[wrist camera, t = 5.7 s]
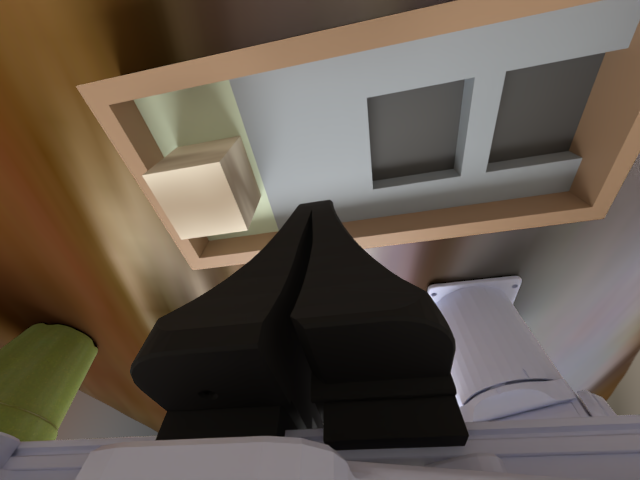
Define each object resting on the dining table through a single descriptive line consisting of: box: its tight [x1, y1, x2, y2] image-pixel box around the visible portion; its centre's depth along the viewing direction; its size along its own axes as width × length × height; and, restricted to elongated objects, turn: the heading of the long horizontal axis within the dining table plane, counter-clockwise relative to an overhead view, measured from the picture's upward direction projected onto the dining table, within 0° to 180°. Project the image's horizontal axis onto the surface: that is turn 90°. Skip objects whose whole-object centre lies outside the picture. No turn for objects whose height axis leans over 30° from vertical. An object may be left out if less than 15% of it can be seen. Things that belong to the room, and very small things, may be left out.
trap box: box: [76, 0, 640, 270], centre depth 16 cm, size 12×27×4 cm, turn 100°
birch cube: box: [142, 136, 261, 240], centre depth 16 cm, size 4×4×4 cm
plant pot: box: [0, 323, 98, 442], centre depth 28 cm, size 12×12×11 cm
